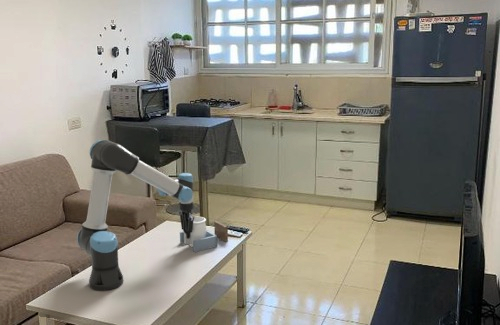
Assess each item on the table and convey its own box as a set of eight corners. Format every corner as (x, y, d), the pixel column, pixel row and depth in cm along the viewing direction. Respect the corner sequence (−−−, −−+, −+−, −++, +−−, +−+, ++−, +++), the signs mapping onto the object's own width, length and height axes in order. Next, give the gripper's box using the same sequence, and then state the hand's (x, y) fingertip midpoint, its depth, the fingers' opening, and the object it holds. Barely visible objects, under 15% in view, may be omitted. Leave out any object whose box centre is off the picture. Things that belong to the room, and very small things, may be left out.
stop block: (224, 242, 273) (224, 226, 271) (214, 236, 282) (214, 221, 280) (227, 241, 274) (227, 226, 272) (217, 235, 283) (217, 220, 281)
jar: (205, 248, 264) (205, 222, 260) (186, 248, 263) (186, 222, 260) (206, 241, 274) (206, 216, 271) (188, 241, 274) (187, 216, 271)
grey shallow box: (194, 252, 259) (194, 241, 257) (180, 242, 272) (179, 232, 270) (217, 246, 267) (217, 235, 265) (202, 237, 280) (202, 227, 278)
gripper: (198, 203, 256) (199, 245, 262) (186, 197, 267) (187, 238, 272) (185, 206, 252) (186, 248, 257) (174, 200, 263) (175, 241, 268)
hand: (187, 243), depth 265 cm, fingers closed
